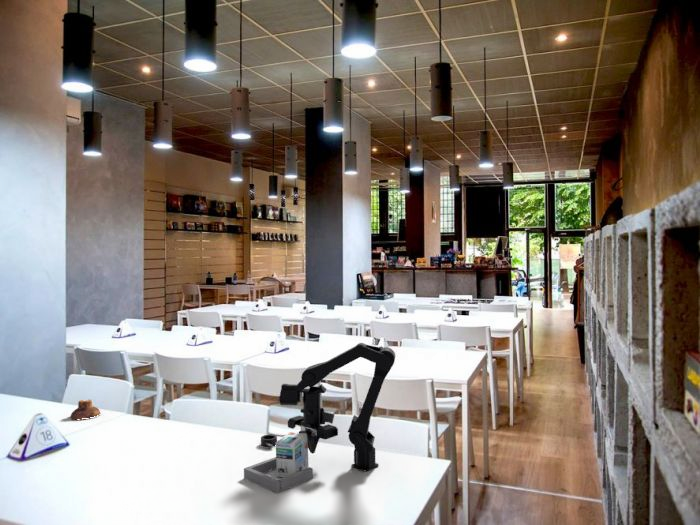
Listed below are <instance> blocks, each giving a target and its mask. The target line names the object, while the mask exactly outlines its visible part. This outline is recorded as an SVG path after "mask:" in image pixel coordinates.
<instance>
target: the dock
mask: <svg viewBox="0 0 700 525" xmlns="http://www.w3.org/2000/svg"><path fill="white" fill-rule="evenodd" d="M313 469H314V468H312V467H310V466H309V467H308V468H306V469H304V470H301V471H299V472H296V473H294V474H291V475H289V476H286V477H280V478H279V479H277V478H275V477H273V476H270V475H268V474H266V473H268V472H270V470H271V471H273V470H277V464H276V456H275V457H272V458H269V459H266V460H263V461H261V462H258V463H255V464H252V465H250V466H247V467H244V468H243V479H245V480H247V481H249V482H251V481H252V483H254V484H256V485H258V486H261V487H262V486H263V488H265V489H267V490H270V491H272V492H273V491H274V493H276V494H279V493H281V492H283V491H286V490H288V489H290V488H293V487H296V486H298V485H301V484H302V483H304V482H307V481H310V480H312V479H313V478H314V474H313V473H314V470H313Z"/></svg>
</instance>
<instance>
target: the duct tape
mask: <svg viewBox="0 0 700 525" xmlns="http://www.w3.org/2000/svg"><path fill="white" fill-rule="evenodd" d="M277 441H278V436H277V435H275V434H264V435H262V436H261V437H260V446H261V447H262V446H263V448H273V446H274V447H276V446H275V445H276V442H277Z"/></svg>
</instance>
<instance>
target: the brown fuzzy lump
mask: <svg viewBox="0 0 700 525" xmlns="http://www.w3.org/2000/svg"><path fill="white" fill-rule="evenodd" d="M77 404H78V405H77V406H78V407H77V408H76V409H74V410H73V411H72V412H71V413H70V417H71V418H73V419H82V418H90V417H94V416H97V415H99V414H100V415H101V411H100V409H99V407H97V406H93V401H92V399H90V398H89V399H87V400H83V399H81V400H78V402H77ZM100 415H99V416H100ZM71 418H70V419H71ZM73 419H72V420H73Z"/></svg>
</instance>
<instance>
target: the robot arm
mask: <svg viewBox="0 0 700 525" xmlns="http://www.w3.org/2000/svg"><path fill="white" fill-rule="evenodd" d="M359 358H362V359H365V360H367V361H369V362H372V363H374V365H375V366H374V371H373V377H372V379H371V383H370V385H369V388H368V390H367V393H366V397H365V399H364V402H363V405H362V407H361V410H360V412H359V413H358V416H357V415H355V414H354V415H352V416H353V417H352V419H351V422H350V425H349V427H348V429H347V433H348V440H349V442H350V443H351V444H352V445H353V446H354V450H353V463H352V464H351V467H353V468H355V469H358V470H360V471H364V472H368V471H371V470H372V469H376V468H377V467H379V463H377V462H376V448H375V447H374V443H375V438H376V437H375V435H374V434H372V432H370V431H369V429H370V423H371V416H372V414H373V411H374V408H375V406H376V403H377V400H378V398H379V395H380V392H381V389H382V387H383V384H384V382H385V379H386V377H387V375H388V374H390V371H391V369H392V368H393V366H394V364H395V360H396V352H395V351H394V349H392V348H391V347H388V346H387V347H383V348H382V347H378V346H374V345H369V344H366V343H363V342H359V343H357V344H356V345H355V346H353V347H351V348H349V349H347V350H345V351H344V352H342V353H339V354H338V355H336V356H333V357H332V358H330V359H329V360H327V361H324V362H319V363H315V364H312V365H311V366H307V368H306V369H305V370H303V371H302V374H301V380H300V381H299V382H298V383H297V384H289V383H282V384H281V386H280V387H281V389H280V393H279V396H278V399H279V404H280V406H299V403H302V408H300V413H301V414H303V416H302V415H297V416H293V417H290V418H289V419H288V420H287V428H289V429H292V430H293V429H295V428H296V426H298V427H300V430H299V431H298V433H304V434H307V437H308V452H309V453H310V454H315V452H316V449H317V446H318V445H319V444H318V443H319V440H320V439H322V440H329V439H332V438H334V437H336V436H338V435H339V428H338V427H337V426H335V425H332V424H333V423H334V420H335V413H331V412H328V411H325V409H324V408H323V407H322V406H321V402H322V400H321V399H322V398H321V394H325V393H326V392H327V388H326V386H324V385H323V384H322V383H320V382H321V381H323V380H324V379H325V378H326V377H327V376H328V375H330V374H331V373H333V372H335V371H337V370H339V369H341V368H342V367H344V366H346V365H348V364H350V363H351V362H354V361H356V360H357V359H359ZM319 383H320V385H319V386H316V385H317V384H319ZM307 387H309V388H307ZM326 423H328V424H326ZM329 423H330V424H329ZM325 424H326V425H325Z"/></svg>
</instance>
